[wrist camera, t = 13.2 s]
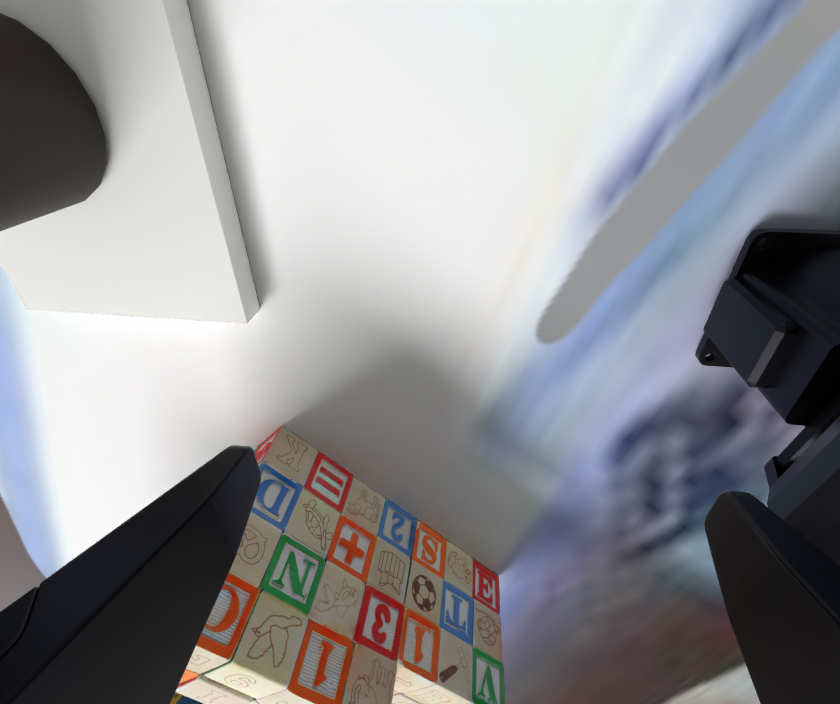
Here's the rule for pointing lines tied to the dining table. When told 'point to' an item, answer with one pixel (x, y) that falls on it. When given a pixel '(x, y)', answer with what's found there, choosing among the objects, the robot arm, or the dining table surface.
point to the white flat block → (136, 176)
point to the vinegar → (43, 130)
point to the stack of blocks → (344, 600)
